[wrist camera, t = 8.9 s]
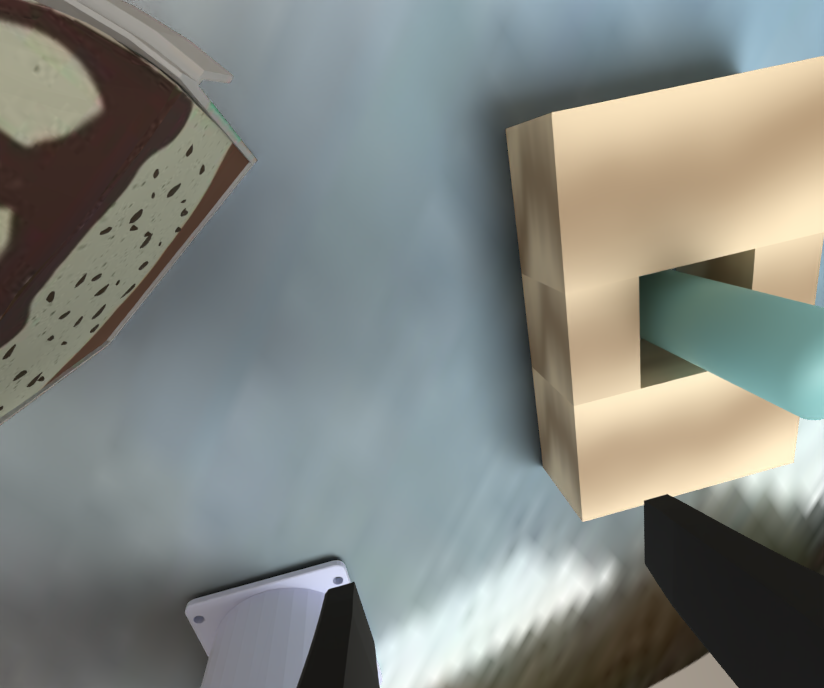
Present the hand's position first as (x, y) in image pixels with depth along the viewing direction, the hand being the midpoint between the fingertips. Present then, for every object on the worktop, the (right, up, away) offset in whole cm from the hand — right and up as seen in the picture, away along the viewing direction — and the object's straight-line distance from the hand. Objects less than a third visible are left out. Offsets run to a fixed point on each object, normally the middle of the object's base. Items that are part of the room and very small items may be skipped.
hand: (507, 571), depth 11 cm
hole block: (+8, +8, +10) cm, 15 cm away
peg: (+8, +8, +10) cm, 15 cm away
